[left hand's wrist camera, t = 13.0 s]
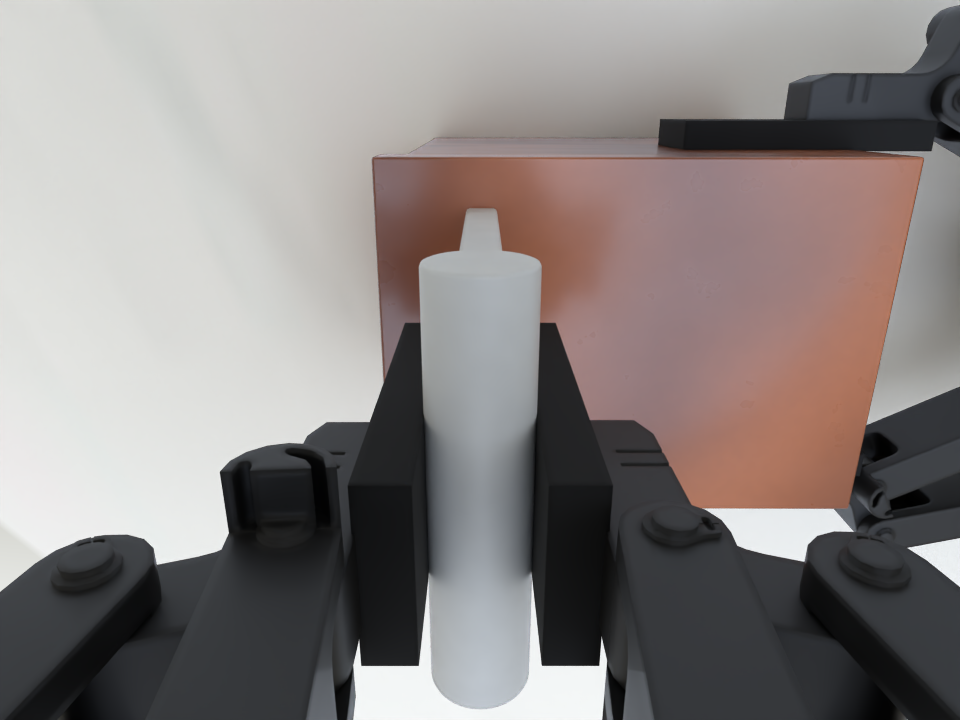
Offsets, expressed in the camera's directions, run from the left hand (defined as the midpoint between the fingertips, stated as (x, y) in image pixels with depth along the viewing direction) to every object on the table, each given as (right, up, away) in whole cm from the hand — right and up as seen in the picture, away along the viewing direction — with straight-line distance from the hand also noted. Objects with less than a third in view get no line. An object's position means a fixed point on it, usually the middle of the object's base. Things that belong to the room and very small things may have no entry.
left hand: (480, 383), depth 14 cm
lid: (+4, +1, +3) cm, 5 cm away
